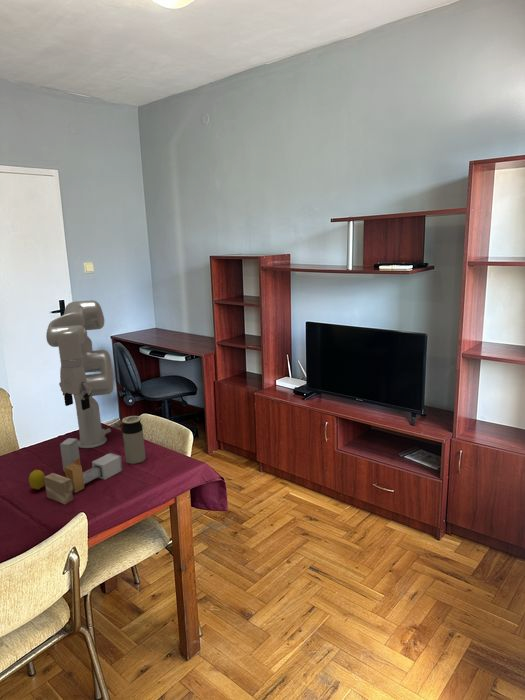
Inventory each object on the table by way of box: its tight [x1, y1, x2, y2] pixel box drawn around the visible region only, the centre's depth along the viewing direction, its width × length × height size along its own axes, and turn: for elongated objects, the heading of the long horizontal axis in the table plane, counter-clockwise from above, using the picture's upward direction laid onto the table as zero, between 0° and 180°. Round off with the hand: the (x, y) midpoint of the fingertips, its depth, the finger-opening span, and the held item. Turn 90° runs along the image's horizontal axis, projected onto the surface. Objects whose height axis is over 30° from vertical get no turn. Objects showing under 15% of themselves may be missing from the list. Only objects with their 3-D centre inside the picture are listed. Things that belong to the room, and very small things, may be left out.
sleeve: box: [91, 452, 124, 481], centre depth 194 cm, size 9×6×6 cm
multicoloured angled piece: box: [64, 463, 102, 494], centre depth 184 cm, size 19×4×9 cm, turn 147°
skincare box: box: [59, 437, 82, 473], centre depth 199 cm, size 6×4×12 cm
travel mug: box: [121, 415, 146, 465], centre depth 203 cm, size 8×8×18 cm
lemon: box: [28, 469, 46, 490], centre depth 184 cm, size 6×6×8 cm
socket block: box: [44, 472, 74, 505], centre depth 176 cm, size 4×10×8 cm, turn 57°
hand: (77, 406), depth 187 cm, fingers open, 9 cm apart
